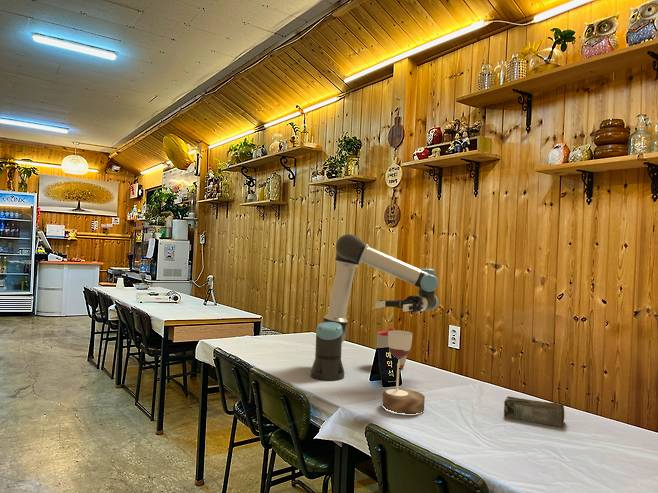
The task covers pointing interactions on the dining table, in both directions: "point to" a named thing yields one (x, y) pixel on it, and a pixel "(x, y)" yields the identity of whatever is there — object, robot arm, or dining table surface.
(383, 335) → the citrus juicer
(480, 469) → the dining table surface
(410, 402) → the walnut stand
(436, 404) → the dining table surface
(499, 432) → the dining table surface
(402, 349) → the wineglass
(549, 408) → the weathered grey-green block
